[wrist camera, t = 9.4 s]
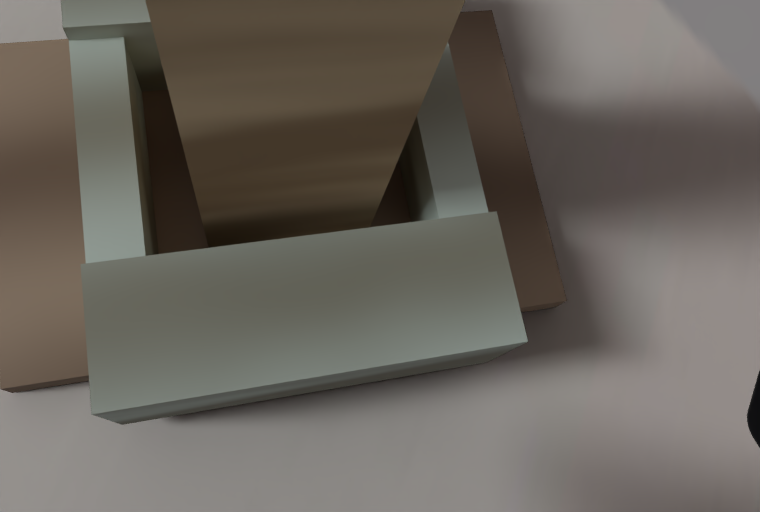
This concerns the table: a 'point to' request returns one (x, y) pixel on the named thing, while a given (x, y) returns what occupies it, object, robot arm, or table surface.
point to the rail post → (295, 105)
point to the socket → (248, 260)
